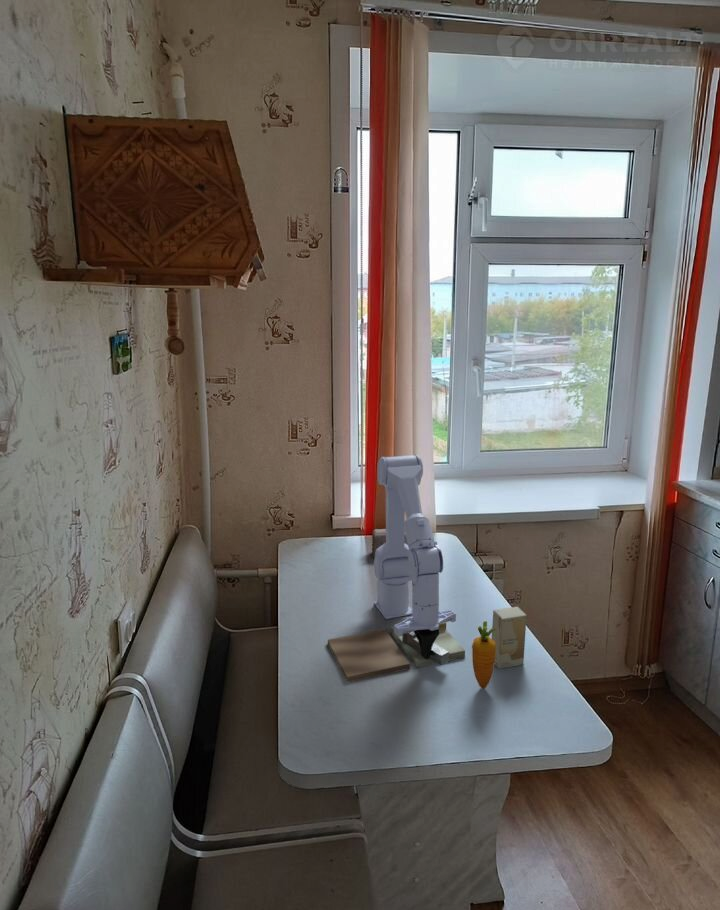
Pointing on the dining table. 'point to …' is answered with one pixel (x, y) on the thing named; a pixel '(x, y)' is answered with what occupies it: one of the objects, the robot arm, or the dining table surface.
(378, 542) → the food item
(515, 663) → the skincare box
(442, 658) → the swing bar
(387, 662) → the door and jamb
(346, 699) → the dining table surface
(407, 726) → the dining table surface
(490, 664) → the carrot
